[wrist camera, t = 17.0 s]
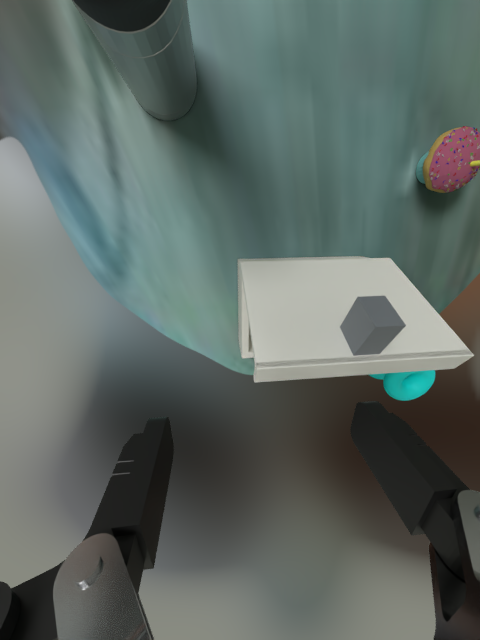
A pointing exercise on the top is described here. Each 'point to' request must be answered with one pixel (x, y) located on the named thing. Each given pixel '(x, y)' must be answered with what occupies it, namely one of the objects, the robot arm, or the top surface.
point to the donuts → (406, 383)
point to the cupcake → (451, 160)
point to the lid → (342, 320)
